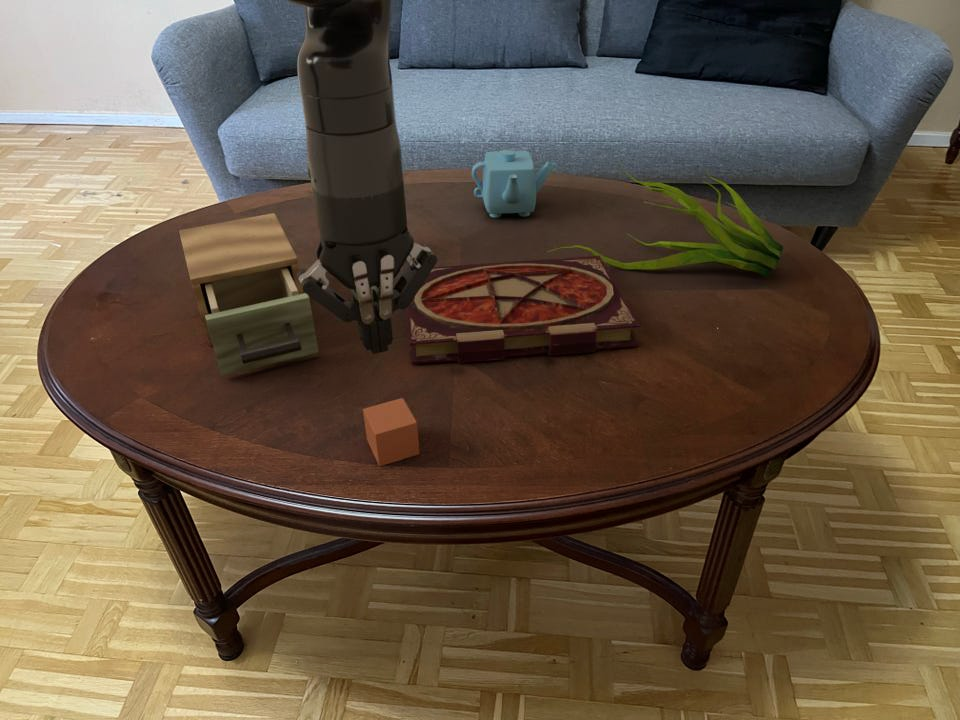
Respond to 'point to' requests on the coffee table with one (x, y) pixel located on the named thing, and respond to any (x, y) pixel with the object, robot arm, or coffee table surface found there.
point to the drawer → (259, 320)
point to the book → (518, 311)
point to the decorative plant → (734, 240)
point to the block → (391, 431)
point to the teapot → (509, 182)
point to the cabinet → (235, 254)
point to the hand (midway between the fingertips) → (377, 348)
